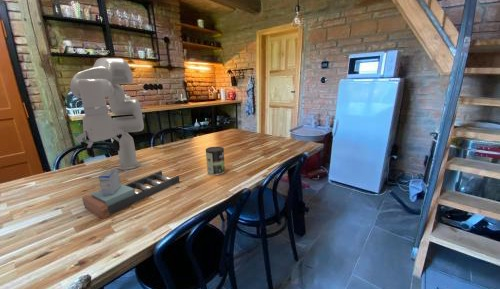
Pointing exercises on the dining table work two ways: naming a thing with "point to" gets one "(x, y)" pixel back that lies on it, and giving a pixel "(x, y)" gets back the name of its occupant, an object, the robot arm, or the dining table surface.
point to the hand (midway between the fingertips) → (105, 153)
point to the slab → (115, 195)
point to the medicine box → (110, 182)
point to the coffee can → (215, 160)
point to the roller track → (104, 210)
